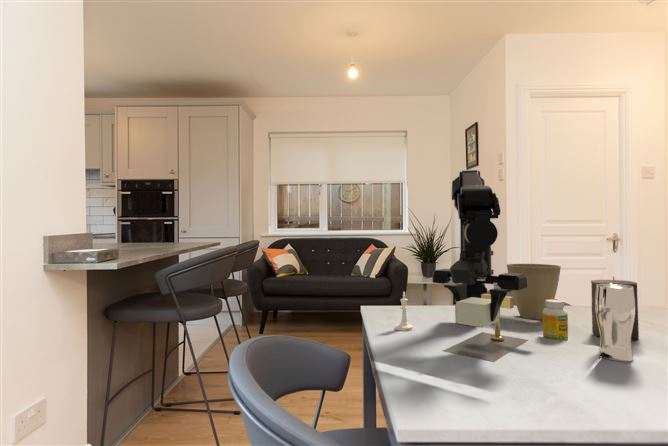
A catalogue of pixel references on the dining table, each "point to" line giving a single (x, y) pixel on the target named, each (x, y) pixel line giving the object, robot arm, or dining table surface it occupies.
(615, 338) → the silver metal tumbler
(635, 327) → the pillar candle
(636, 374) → the dining table surface
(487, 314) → the cover
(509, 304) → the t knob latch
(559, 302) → the supplement bottle
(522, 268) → the plant pot
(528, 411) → the dining table surface
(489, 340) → the base
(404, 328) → the chess piece
